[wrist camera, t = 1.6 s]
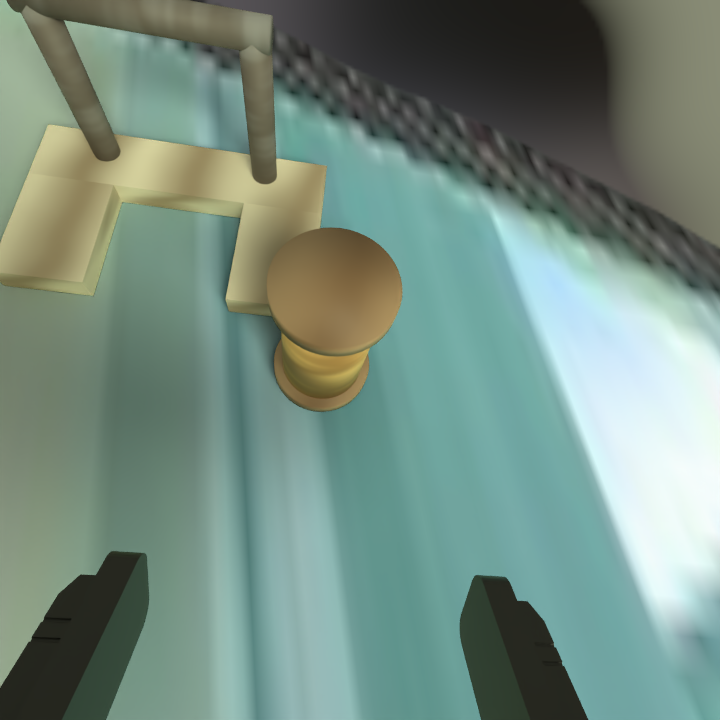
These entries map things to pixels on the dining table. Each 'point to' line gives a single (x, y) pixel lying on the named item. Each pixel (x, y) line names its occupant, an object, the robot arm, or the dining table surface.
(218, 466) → the dining table surface
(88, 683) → the robot arm
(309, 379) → the wooden knob
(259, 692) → the dining table surface
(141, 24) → the u-shaped handle base
